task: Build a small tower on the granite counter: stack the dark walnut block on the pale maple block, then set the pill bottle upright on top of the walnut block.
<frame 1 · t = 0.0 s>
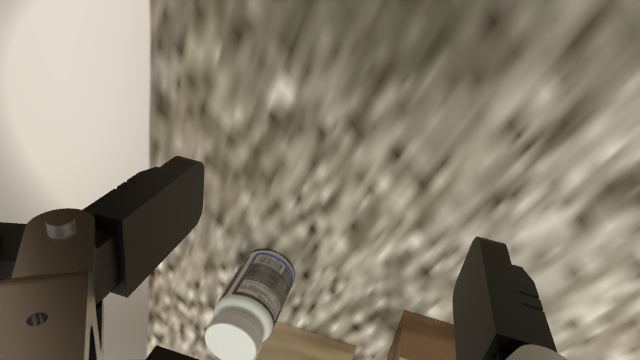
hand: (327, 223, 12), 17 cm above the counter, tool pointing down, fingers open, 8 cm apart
walnut block: (429, 343, 37), on the counter
maple block: (308, 358, 41), on the counter
pill bottle: (270, 268, 37), on the counter
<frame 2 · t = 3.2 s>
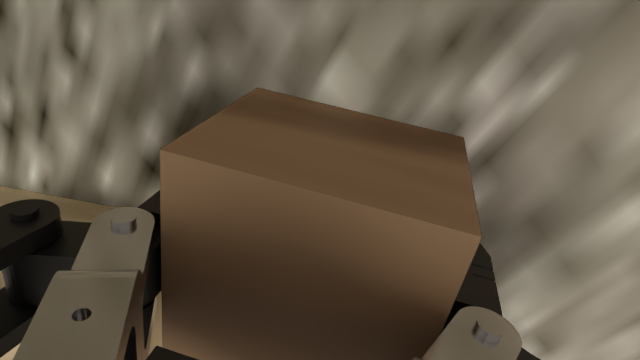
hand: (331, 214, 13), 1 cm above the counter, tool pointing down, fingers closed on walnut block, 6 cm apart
walnut block: (337, 201, 13), on the counter, touching gripper
maple block: (84, 276, 18), on the counter
when the fingers open (7 cm above the counter, at t = 7.3 s): walnut block drops 2 cm, resting on maple block.
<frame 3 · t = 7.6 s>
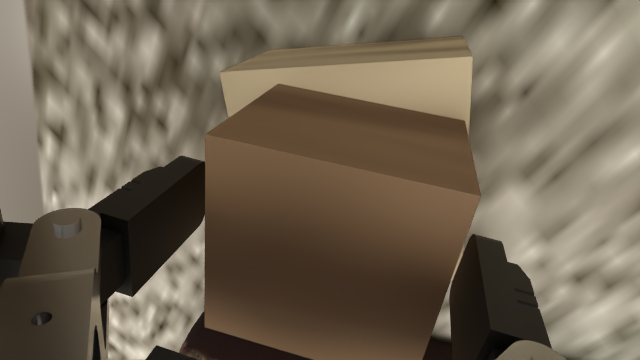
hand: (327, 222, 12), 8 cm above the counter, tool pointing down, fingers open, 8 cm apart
walnut block: (352, 184, 15), point 5 cm above the counter, touching maple block
maple block: (365, 134, 19), on the counter, touching walnut block
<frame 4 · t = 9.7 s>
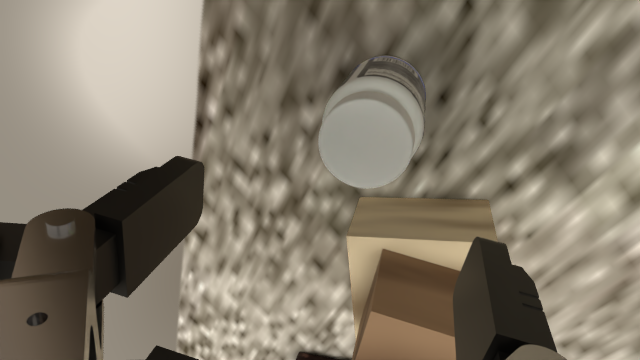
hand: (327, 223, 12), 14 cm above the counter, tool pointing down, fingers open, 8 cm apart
walnut block: (420, 303, 25), point 5 cm above the counter
maple block: (421, 248, 29), on the counter
pill bottle: (385, 94, 25), on the counter
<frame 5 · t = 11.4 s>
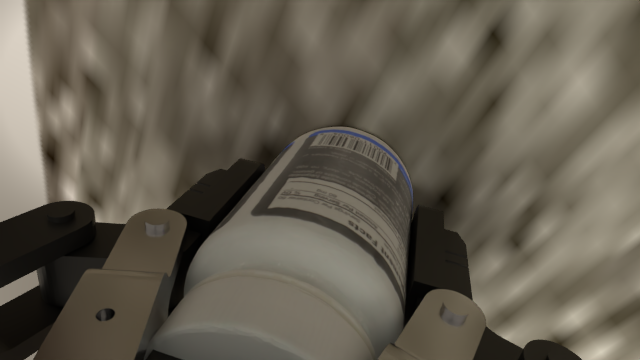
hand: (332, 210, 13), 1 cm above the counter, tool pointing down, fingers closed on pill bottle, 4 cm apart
pill bottle: (343, 188, 14), on the counter, touching gripper
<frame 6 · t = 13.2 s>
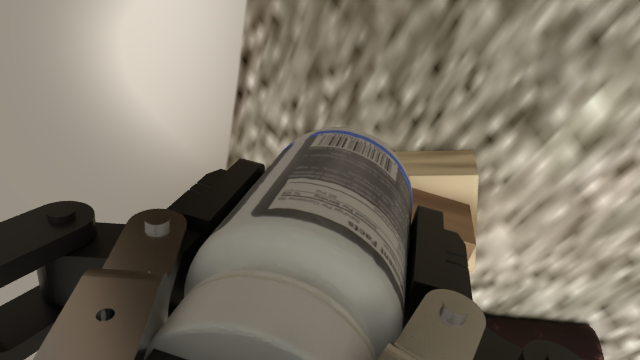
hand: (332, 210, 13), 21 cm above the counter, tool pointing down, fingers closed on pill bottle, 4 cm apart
walnut block: (414, 226, 31), point 5 cm above the counter
maple block: (420, 194, 35), on the counter
pill bottle: (343, 188, 14), point 20 cm above the counter, touching gripper
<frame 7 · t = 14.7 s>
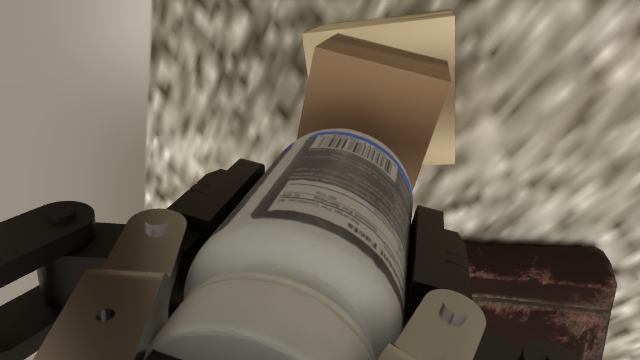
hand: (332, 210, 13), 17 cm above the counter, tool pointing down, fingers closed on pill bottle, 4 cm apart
walnut block: (376, 100, 24), point 5 cm above the counter, touching maple block
maple block: (388, 81, 28), on the counter, touching walnut block
pill bottle: (343, 189, 14), point 16 cm above the counter, touching gripper
diary: (414, 320, 37), on the counter
when the fingers open (13 cm above the counter, at t = 15.9 s): pill bottle drops 1 cm, resting on walnut block.
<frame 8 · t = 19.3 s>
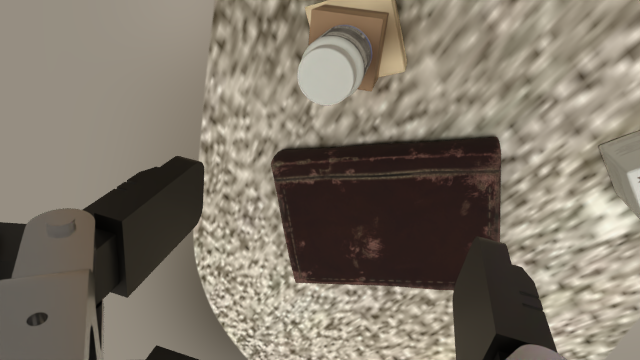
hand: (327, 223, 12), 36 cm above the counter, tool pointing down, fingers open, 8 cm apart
walnut block: (352, 41, 40), point 5 cm above the counter, touching pill bottle
maple block: (362, 33, 44), on the counter
pill bottle: (345, 52, 36), point 10 cm above the counter, touching walnut block
skincare box: (638, 157, 43), on the counter
diary: (387, 208, 53), on the counter
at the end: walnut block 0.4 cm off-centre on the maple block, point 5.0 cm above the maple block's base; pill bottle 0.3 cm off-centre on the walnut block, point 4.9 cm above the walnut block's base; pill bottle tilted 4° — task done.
